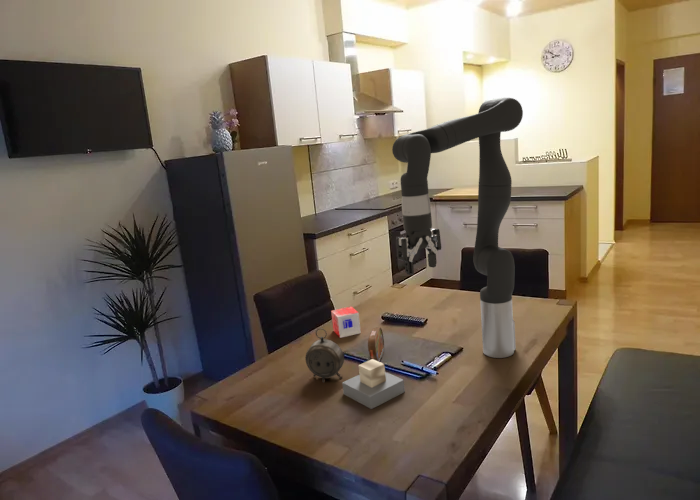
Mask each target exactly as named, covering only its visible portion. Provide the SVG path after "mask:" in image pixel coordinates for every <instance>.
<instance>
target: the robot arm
mask: <svg viewBox="0 0 700 500" xmlns="http://www.w3.org/2000/svg"><path fill="white" fill-rule="evenodd" d="M523 115H524V111H523V107H522V104H521V103H520V101H518V100H517V99H516V98H514V97H501V98H500V97H499V98H492V99H487V100H485V101H483V102H482V103H481V105H480V106H479V110H478V112H477V113H475V114H470V115H467V116H462V117H459V118H453V119H450V120H447V121H444V122H441V123H439V124H436V125H433V126H431V127H428V128H426V129H421V130H418V131H413V132H410V133H407V134H403V135H401V136H400V137H398V138H397V139H395V141H394V142H393V144H392V147H391V148H392V150H391V151H392V155H393V156H394V158H395V160H397V161H399V162H401V163H407V166H406V167H407V168H406V172H405V173H403V174H401V177H400V190H401V211H402V212H401V213H402V214H401V215H402V223H403V225H402V226H403V230H404V232H405V237H397V238H396V248H397V249H396V250H397V251H396V252H397V260H399V261H402V262H404V270H405V273H406V275H408V276H413V275H415V269H414V261H413V259H414V257H415V255H417V254H418V251H421V250H422V249H425V251H427V263H428V267H429V268H436V266H437V263H438V262H437V253H438V251H441V250H442V239H441V233H440V231H441V230H440V229H439V228H435V227H434V228H432V227H433V221H432V209H431V207H432V205H431V200H430V194H429V182H428V175H429V171H430V170H429V169H430V166H431V165H430V164H431V157H432V154H437V153H441V152H444V151H447V150H449V149H453V148H454V147H457V146H459V145H462V144H464V143H467V142H469V141H472V140H475V139H478V147H479V148H478V149H479V158H478V159H479V160H478V161H479V167H478V172H479V175H478V192H477V193H478V194H477V195H478V196H477V203H478V205H477V206H478V207H477V218H476V219H477V223H476V224H477V225H476V234H475V235H476V236H475V242H474V248H473V257H472V258H473V259H472V260H473V261H472V262H473V265H474V268H475V270H476V271H477V272H478V273H480V274H481V275H484V276H486V286H484V287H483V288H481V289H480V290H479V291H480V292H479V301H480V318H481V320H480V321H481V337H482V339H481V341H482V352H483V354H484V356H487V357H489V358H495V359H496V358H497V359H502V358H508V357H511V356H512V355H514V354H515V350H516V349H517V348H516V328H515V327H516V325H515V324H516V322H515V320H514V317H513V316H514V315H513V313H514V312H513V292H514V290H515V270H516V269H515V268H516V267H515V266H516V265H515V259H514V255H513V253H512V252H511V251H510V250H508V249H506V248H503V247H500V246H499V232H500V227H501V223H502V221H503V219H504V217H505V215H506V214H507V212H508V210H509V207H510V204H511V200H512V184H513V183H512V176H511V173H510V170H509V167H508V165H507V162H506V161H505V158H504V156H503V153H502V149H501V133H503V132H510V131H513V130H514V129H516V128H517V127H518V126H519V125H520V123H522V120H523Z"/></svg>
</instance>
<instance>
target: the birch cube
mask: <svg viewBox="0 0 700 500" xmlns="http://www.w3.org/2000/svg"><path fill="white" fill-rule="evenodd" d="M358 372H359V374H358V375H360V382H362V383H364V384H366V385H367V386H369V387H371V388H372V387H374V386H377V385H379V384H381V383H383V382H385V381H386V376H385V372H386V368H385V363H383V362H378V361H376V360H374V359H371V360H370V359H368V360H366V361H365V362H363V363H361V364H358Z"/></svg>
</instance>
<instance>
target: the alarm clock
mask: <svg viewBox="0 0 700 500" xmlns="http://www.w3.org/2000/svg"><path fill="white" fill-rule="evenodd" d="M318 330H319V331H320V330H322V331H324V333H325V335H324V337H323V336H318ZM315 336H316V337H317V340H316V341H314V342H313V343H312V344H311V346H310V347H308V349H307V351H306V353H305V363H306V366H307V368H308V370H309V371H310V372H311V373H312V374H313V376H312V377H314V378H315V377H319V378H321V379H322V380H321V382H322V383H326V382H325V379H329V378H332V377H334V376H337V377H338V378H339V379H340V380H341V379H343V378H342V377H343V376H341V374H340V373H339V372H340V370H341V369H342V367H343V366H344V362H345V355H344V352H343V349H342V348H341V347H340V346H339V344H338V343H336V342H334V341H333V340H331V339H328V338H326V337H327V331H326V329H324V328H322V327H319V328H317V329H316V330H315Z"/></svg>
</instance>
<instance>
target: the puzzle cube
mask: <svg viewBox="0 0 700 500" xmlns="http://www.w3.org/2000/svg"><path fill="white" fill-rule="evenodd" d="M330 312H331V321H332V330H333V332H334V333H335V334H336V335H337V336H338V338H346V337H350V336H353V335H359V334H361V332H362V331H361V324H360V322H361V321H360V313H359V311H358V310H356V309H355V308H354V307H353V306H347V307H341V308H338V309H333V310H330Z"/></svg>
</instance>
